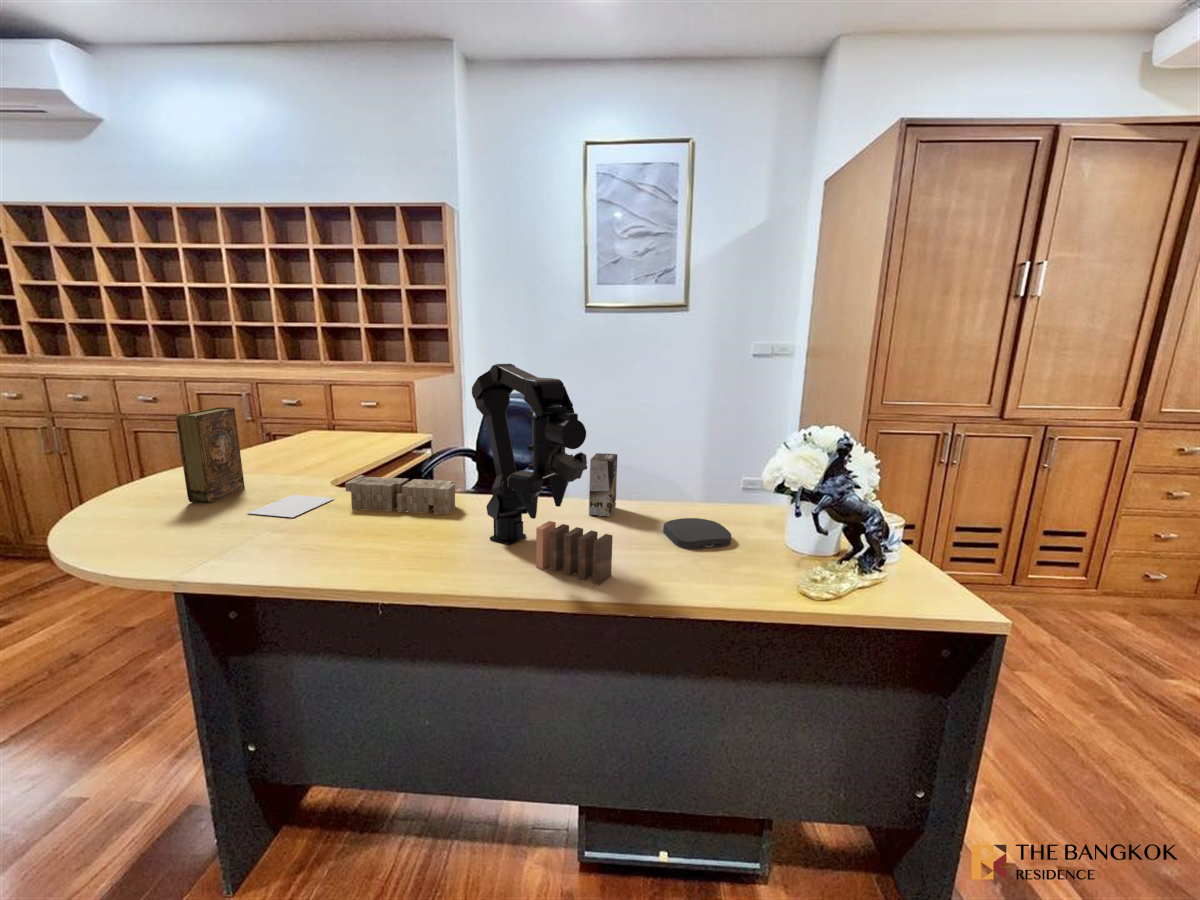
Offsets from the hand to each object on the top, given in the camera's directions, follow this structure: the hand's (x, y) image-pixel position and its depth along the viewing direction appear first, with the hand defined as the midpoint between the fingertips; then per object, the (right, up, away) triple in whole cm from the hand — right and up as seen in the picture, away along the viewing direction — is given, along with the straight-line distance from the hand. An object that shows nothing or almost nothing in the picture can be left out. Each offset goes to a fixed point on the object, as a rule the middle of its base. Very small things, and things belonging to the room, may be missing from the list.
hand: (546, 512), depth 111 cm
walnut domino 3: (+9, -13, -2) cm, 16 cm away
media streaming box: (+36, -9, +20) cm, 42 cm away
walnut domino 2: (+6, -13, -1) cm, 14 cm away
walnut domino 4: (+12, -13, -4) cm, 18 cm away
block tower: (-44, -3, +37) cm, 57 cm away
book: (-101, 0, +43) cm, 109 cm away
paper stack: (-70, -4, +30) cm, 77 cm away
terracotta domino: (0, -12, +3) cm, 12 cm away
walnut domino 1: (+3, -12, +1) cm, 12 cm away
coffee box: (+12, -4, +37) cm, 39 cm away
